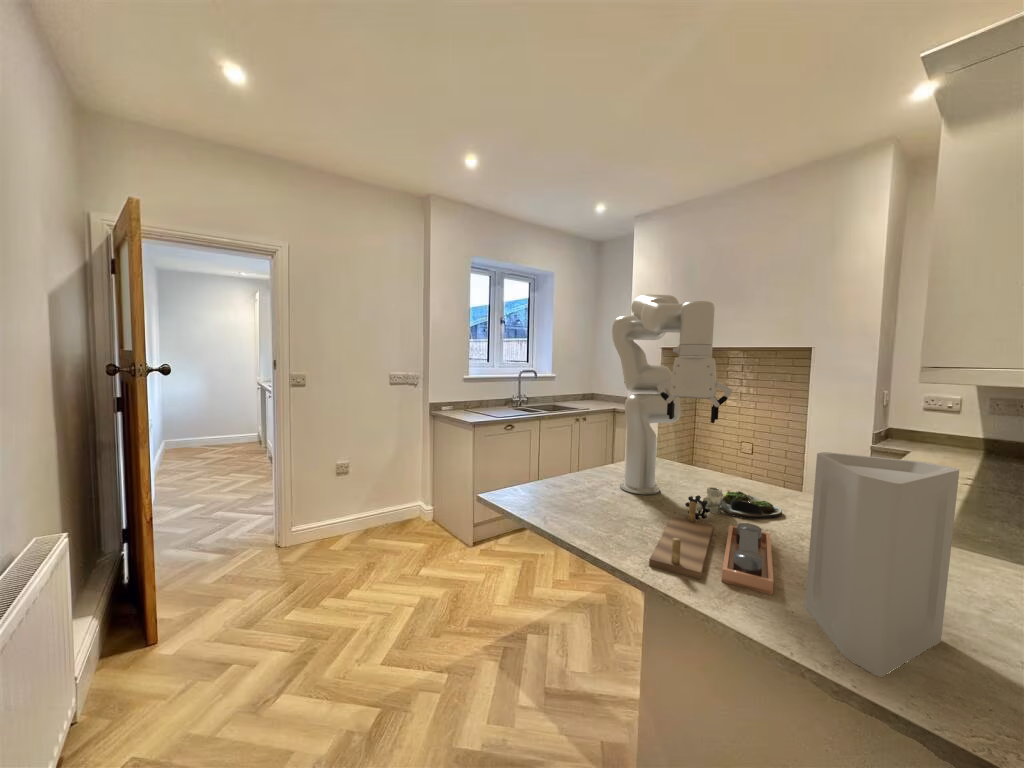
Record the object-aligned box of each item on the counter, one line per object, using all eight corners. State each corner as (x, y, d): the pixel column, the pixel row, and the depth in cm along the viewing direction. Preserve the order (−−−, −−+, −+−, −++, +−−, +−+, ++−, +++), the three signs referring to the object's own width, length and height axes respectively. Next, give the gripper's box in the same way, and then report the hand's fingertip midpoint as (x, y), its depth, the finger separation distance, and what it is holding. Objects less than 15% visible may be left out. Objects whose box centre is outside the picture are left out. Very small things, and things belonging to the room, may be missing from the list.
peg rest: (671, 520, 112) (673, 497, 111) (713, 529, 107) (714, 505, 106) (649, 565, 88) (650, 536, 88) (700, 579, 83) (702, 548, 83)
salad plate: (692, 496, 132) (693, 482, 132) (744, 495, 134) (745, 481, 134) (732, 522, 113) (733, 505, 113) (791, 519, 115) (792, 503, 115)
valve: (705, 506, 124) (684, 515, 116) (706, 484, 123) (685, 492, 116) (728, 513, 118) (707, 523, 111) (729, 490, 118) (709, 499, 110)
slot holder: (728, 535, 104) (729, 525, 103) (769, 543, 99) (770, 533, 99) (721, 581, 83) (722, 569, 82) (772, 595, 78) (773, 581, 78)
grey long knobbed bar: (736, 537, 101) (737, 521, 101) (760, 542, 99) (761, 525, 98) (732, 576, 83) (733, 557, 83) (761, 584, 81) (762, 564, 80)
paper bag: (838, 591, 80) (850, 448, 78) (943, 640, 67) (962, 469, 64) (775, 616, 72) (786, 457, 69) (880, 678, 58) (899, 484, 56)
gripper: (655, 351, 104) (652, 419, 105) (734, 352, 95) (729, 426, 97) (661, 351, 111) (658, 415, 112) (735, 352, 102) (731, 421, 103)
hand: (691, 420), depth 104 cm, fingers open, 9 cm apart
